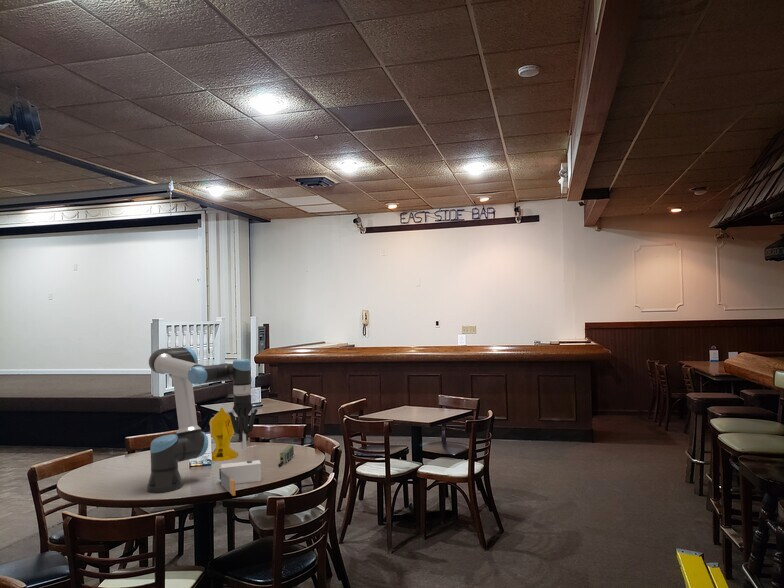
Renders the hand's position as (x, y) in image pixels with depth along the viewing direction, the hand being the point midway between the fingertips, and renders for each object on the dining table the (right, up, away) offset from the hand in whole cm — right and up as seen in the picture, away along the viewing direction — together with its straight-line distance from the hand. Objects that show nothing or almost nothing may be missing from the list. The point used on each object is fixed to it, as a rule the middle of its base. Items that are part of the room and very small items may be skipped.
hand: (243, 448), depth 251 cm
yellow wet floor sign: (-32, -25, +73) cm, 83 cm away
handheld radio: (+8, -23, +57) cm, 62 cm away
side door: (-8, -19, +3) cm, 21 cm away
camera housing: (-6, -21, +20) cm, 30 cm away
